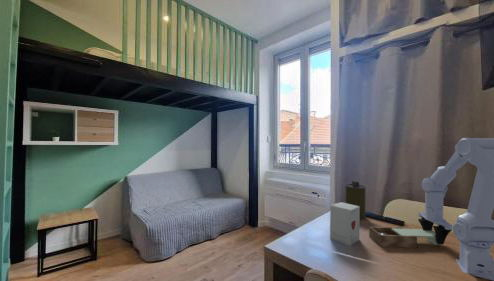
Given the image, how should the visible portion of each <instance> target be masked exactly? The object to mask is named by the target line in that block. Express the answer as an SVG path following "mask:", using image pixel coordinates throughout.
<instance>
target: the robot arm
mask: <svg viewBox="0 0 494 281" xmlns="http://www.w3.org/2000/svg"><path fill="white" fill-rule="evenodd" d="M454 151H455V152H454V153H453V155H451V157H450V159H448V162H447V163H446V164H445V165H444V166H443V165H441V166H438V167H437V168H436V170H435V171H434V172H433V174H432V175H431V176H430V177H424V178H423V180H422V181H421V187H422V190H423V191H424V193H425V194H424V197H425V198H424V201H425V203H424V212H423V211H422V212H418V217H419V218H418V223H419V224H420V226H421V229H422V230H424V231H427V230H428V231H434V232H435V233H436V241H437V244H440V245H445V242H446V238H447V237H448V236H449V234H450V232H453V235H454V236H455V238H456V239H457V240H458V241H459V259H458V258H456V259H455V261H456V263H457V265H458V266H459V268H460V269H461V271H462V273H465V274H469V275H473V277H477V278H481V279H485V280H490V281H494V258H493V255H492V251H491V250H492V247H494V220H493V219H492V216H493V212H494V137H490V138H489V137H487V138H486V137H483V138H482V137H481V138H480V137H479V138H478V137H477V138H475V137H463V138H460V139H459V140H458V142H457V143H456V144H455V146H454ZM468 162H469V163H470V164H471V165H472V166H475V168H476V174H475V178H474V181H473V182H474V183H473V186H472V189H471V195H470V198H469V201H468V207H467V210H466V212H465V213H463V214H461V215H459V216H457V220H456V221H455V222H454V223H453V225H452V224H451V223H449V222H448V221H447V220H446V219H447V218H444V198H445V197H446V193H447V191H448V189H449V187H448V185H449V184H450V183H451V182H452V181H453V180H454V179H455V178H456V177H457V171H458V170H459V169H460V168H462V167H463V166H464V165H465V164H466V163H468ZM434 224H435V225H434Z"/></svg>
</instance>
